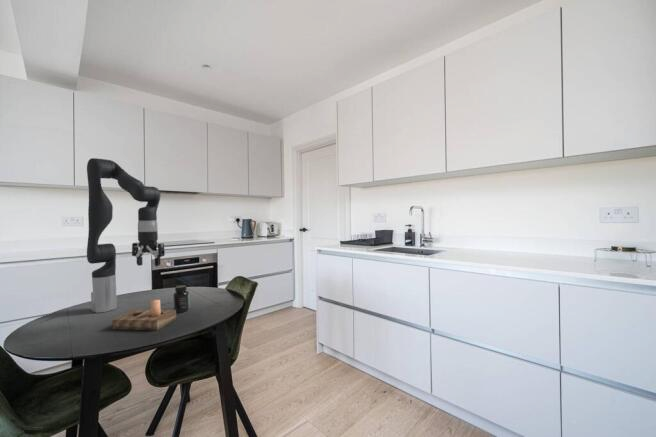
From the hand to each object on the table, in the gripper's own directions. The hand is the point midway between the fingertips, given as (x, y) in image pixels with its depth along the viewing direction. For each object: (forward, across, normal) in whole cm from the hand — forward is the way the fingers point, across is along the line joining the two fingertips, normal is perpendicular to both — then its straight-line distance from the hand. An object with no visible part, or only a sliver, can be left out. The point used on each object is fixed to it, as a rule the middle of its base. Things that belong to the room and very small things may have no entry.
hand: (148, 265), depth 127 cm
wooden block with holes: (+24, +4, -7) cm, 25 cm away
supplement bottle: (+24, +10, +9) cm, 28 cm away
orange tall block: (+23, +8, -7) cm, 25 cm away
